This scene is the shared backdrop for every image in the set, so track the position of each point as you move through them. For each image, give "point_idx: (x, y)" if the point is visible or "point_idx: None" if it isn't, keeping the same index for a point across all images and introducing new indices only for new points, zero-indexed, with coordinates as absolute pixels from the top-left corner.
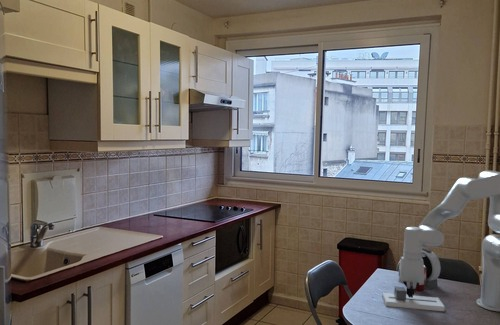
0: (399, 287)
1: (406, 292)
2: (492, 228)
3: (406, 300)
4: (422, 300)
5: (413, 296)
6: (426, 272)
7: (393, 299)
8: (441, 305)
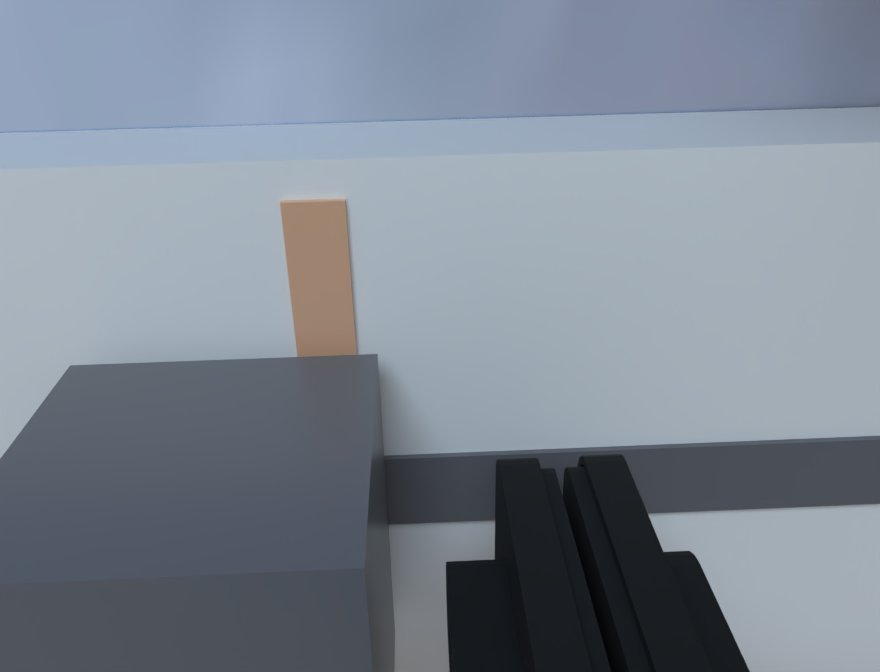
0: (143, 659)
1: (447, 584)
2: None
3: (421, 574)
4: (873, 492)
5: (722, 236)
6: None
7: None
8: None
